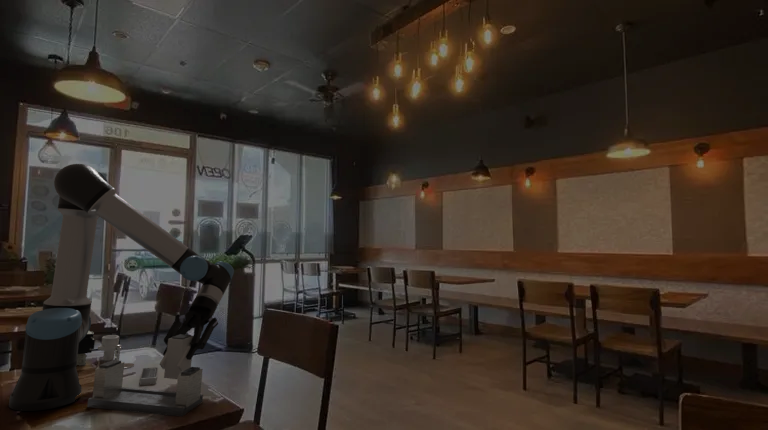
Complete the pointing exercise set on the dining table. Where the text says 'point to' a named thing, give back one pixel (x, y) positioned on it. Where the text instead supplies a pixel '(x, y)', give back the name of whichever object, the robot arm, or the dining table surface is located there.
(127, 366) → the stand
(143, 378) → the multiport hub
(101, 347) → the pipe fitting
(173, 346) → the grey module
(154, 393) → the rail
